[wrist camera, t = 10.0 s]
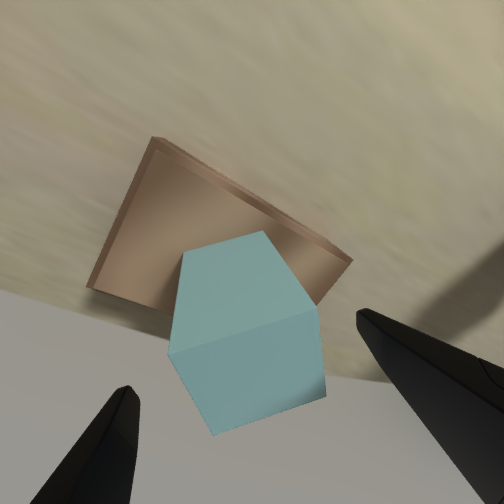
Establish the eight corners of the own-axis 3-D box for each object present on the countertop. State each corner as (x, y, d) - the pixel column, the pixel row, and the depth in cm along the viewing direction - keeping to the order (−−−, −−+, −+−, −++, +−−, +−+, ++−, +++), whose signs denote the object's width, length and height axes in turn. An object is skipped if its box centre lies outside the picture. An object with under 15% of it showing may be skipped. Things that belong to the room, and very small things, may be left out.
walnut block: (328, 240, 19) (356, 262, 16) (268, 319, 22) (281, 354, 18) (163, 137, 14) (150, 136, 10) (108, 258, 16) (82, 291, 13)
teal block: (262, 230, 13) (317, 308, 7) (275, 293, 15) (326, 396, 9) (183, 252, 13) (167, 354, 7) (208, 313, 15) (213, 435, 9)
